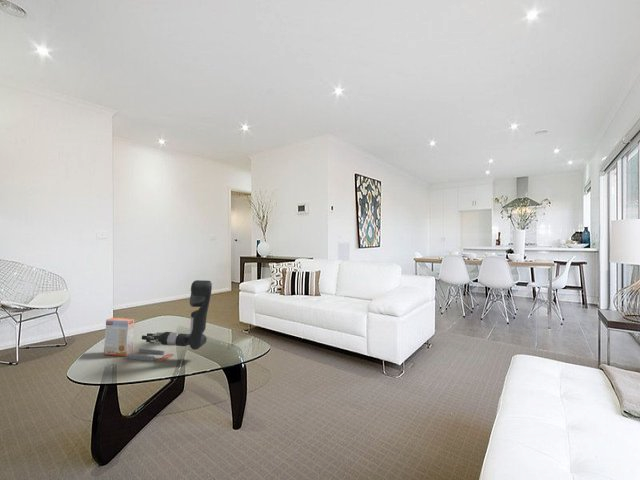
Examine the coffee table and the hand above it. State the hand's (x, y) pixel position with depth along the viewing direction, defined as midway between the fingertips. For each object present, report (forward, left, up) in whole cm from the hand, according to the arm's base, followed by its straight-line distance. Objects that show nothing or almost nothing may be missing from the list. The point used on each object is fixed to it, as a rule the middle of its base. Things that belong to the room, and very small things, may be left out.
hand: (144, 336), depth 179 cm
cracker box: (+1, -15, -12) cm, 19 cm away
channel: (0, +2, -12) cm, 12 cm away
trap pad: (0, +14, -12) cm, 18 cm away
